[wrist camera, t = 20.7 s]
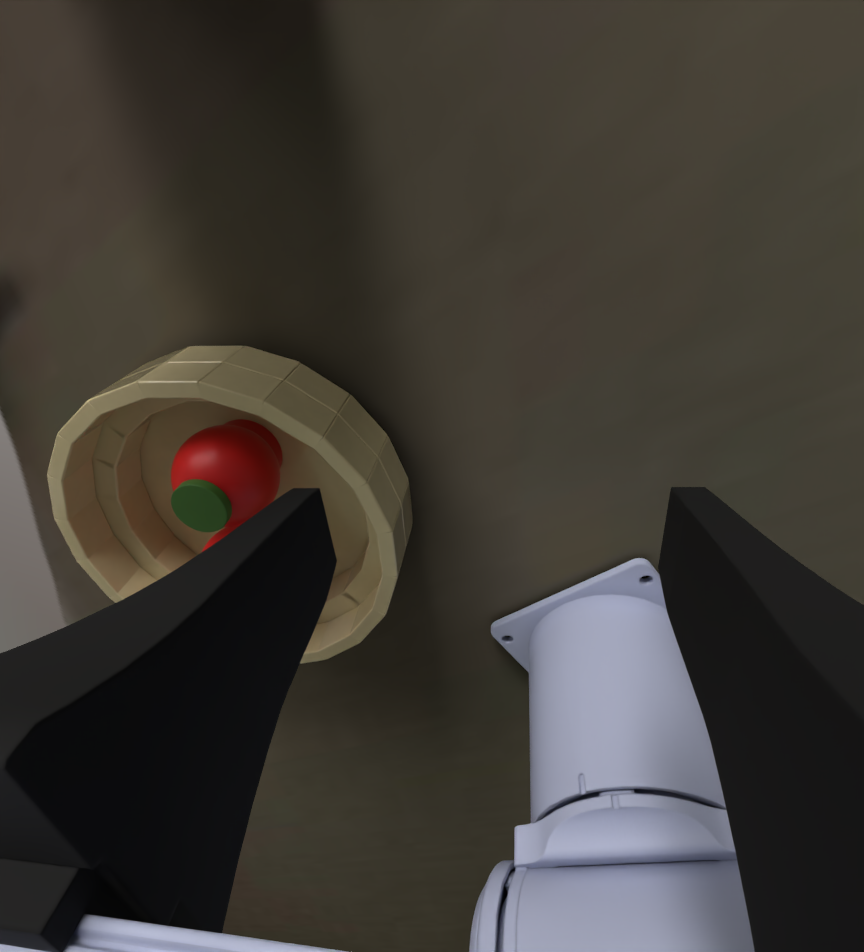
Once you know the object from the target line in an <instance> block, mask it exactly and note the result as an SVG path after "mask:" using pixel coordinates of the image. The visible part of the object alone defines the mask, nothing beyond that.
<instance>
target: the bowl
mask: <svg viewBox="0 0 864 952" xmlns="http://www.w3.org/2000/svg"><path fill="white" fill-rule="evenodd" d="M237 419H245V420H250V421H253V422H256V423H258V424H260V425H262V426H264V427H265V428H267V429H268V430H269V431H270V432H271V433H272V434H273V435H274V436H275V438H276V439H277V441H278V442H279V444H280V447H281V450H282V465H281V467H280V484H279V489H278V492H277V495H276V497H275V499H274V500H276V499H277V498H279V497H280V496H282V495H283V494H285V493H286V492H288V491H289V490H291V489H293V488H320V492H321V496H322V500H323V504H324V508H325V513H326V517H327V521H328V525H329V529H330V534H331V538H332V542H333V546H334V550H335V555H336V559H337V563H336V567H335V571H334V575H333V579H332V583H331V586H330V590H329V593H328V597H327V600H326V603H325V605H324V608H323V610H322V613H321V615H320V617H319V620H318V622H317V625H316V627H315V629H314V632H313V634H312V636H311V639H310V641H309V643H308V646H307V648H306V650H305V652H304V655H303V657H302V659H301V662H300V664H303V663H309V662H316V661H322V660H327V659H329V658H331V657H333V656H335V655H337V654H339V653H341V652H343V651H345V650H347V649H349V648H351V647H353V646H355V645H357V644H359V643H360V642H362V641H363V640H364V638H365V637H366V636H367V635H368V634H369V633H370V632H371V631H372V630H373V629H374V627H375V626H376V625H377V624H378V623H379V622H380V621H381V620H382V619H383V618H384V616H385V615H386V613H387V611H388V608H389V605H390V602H391V598H392V595H393V592H394V589H395V586H396V582H397V579H398V576H399V572H400V568H401V565H402V561H403V558H404V554H405V550H406V547H407V543H408V540H409V536H410V532H411V529H412V525H413V524H412V523H413V518H412V507H411V497H410V486H409V481H408V477H407V475H406V473H405V471H404V468H403V466H402V464H401V462H400V460H399V458H398V456H397V454H396V451H395V449H394V447H393V445H392V443H391V441H390V439H389V437H388V435H387V434H386V432H385V431H384V430H383V429H382V428H381V427H380V426H379V425H378V424H377V422H376V421H375V420H374V419H373V418H372V417H371V416H370V415H369V414H368V413H367V411H366V410H365V409H364V408H363V407H362V406H361V405H360V404H359V403H358V401H357V400H356V399H355V398H354V397H353V396H352V395H350V394H349V393H348V392H346V391H345V390H343V389H342V388H340V387H338V386H337V385H335V384H334V383H332V382H330V381H329V380H327V379H326V378H324V377H323V376H321V375H319V374H318V373H316V372H315V371H313V370H312V369H310V368H308V367H307V366H305V365H304V364H300V362H298V361H295V360H292V359H288V358H285V357H282V356H279V355H275V354H272V353H269V352H265V351H262V350H259V349H255V348H252V347H249V346H191V347H190V346H189V347H186V348H184V349H181V350H178V351H176V352H173V353H171V354H168V355H166V356H163V357H161V358H158V359H156V360H153V361H150V362H148V363H146V364H144V365H143V366H141V367H140V368H138V369H136V370H135V371H133V372H132V373H130V374H129V375H127V376H125V377H124V378H122V379H121V380H119V381H117V382H116V383H114V384H113V385H111V386H109V387H108V388H106V389H105V390H103V391H101V392H100V393H98V394H97V395H95V396H93V397H92V398H90V399H89V400H87V401H86V402H85V403H84V404H83V406H82V407H81V408H80V409H79V410H78V411H77V412H76V413H75V414H74V415H73V416H72V417H71V419H70V420H69V421H68V422H67V423H66V424H65V425H64V426H63V427H62V428H61V429H60V430H59V432H58V434H57V437H56V441H55V445H54V448H53V452H52V456H51V460H50V464H49V468H48V472H47V474H48V475H47V479H48V485H49V491H50V497H51V503H52V509H53V515H54V518H55V521H56V523H57V525H58V527H59V529H60V531H61V533H62V535H63V537H64V539H65V541H66V542H67V544H68V546H69V548H70V550H71V552H72V554H73V556H74V558H75V559H76V560H77V562H78V564H79V565H80V566H81V567H82V568H83V569H84V570H85V571H86V573H87V574H88V575H89V576H90V577H91V578H92V579H93V581H94V582H95V583H96V584H97V585H98V586H99V587H100V588H101V590H102V591H103V592H104V593H105V594H106V595H107V596H108V597H109V598H110V599H111V600H112V601H114V602H115V603H117V602H119V601H121V600H123V599H125V598H127V597H129V596H130V595H132V594H134V593H136V592H138V591H140V590H141V589H143V588H145V587H147V586H148V585H150V584H152V583H154V582H156V581H157V580H159V579H161V578H162V577H164V576H166V575H167V574H169V573H171V572H172V571H174V570H176V569H177V568H179V567H180V566H182V565H183V564H185V563H186V562H188V561H189V560H191V559H192V558H194V557H195V556H197V555H198V554H200V553H201V552H202V550H203V548H204V547H205V545H206V544H207V542H208V541H209V540H210V539H211V538H212V537H213V536H214V535H215V534H216V533H218V532H219V531H220V530H222V529H224V528H226V527H223V528H222V529H220V530H218V531H215V532H201V531H197V530H194V529H192V528H190V527H188V526H187V525H185V524H184V523H183V522H182V521H181V520H180V519H179V518H178V517H177V516H176V514H175V513H174V511H173V509H172V505H171V497H172V494H173V489H172V484H171V468H172V464H173V460H174V458H175V455H176V453H177V452H178V450H179V448H180V447H181V446H182V445H183V443H184V442H185V441H186V440H187V439H188V438H190V437H191V436H192V435H194V434H195V433H197V432H199V431H201V430H203V429H205V428H208V427H212V426H217V425H223V424H225V423H227V422H229V421H232V420H237Z"/></svg>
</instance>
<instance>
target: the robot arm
mask: <svg viewBox="0 0 864 952" xmlns="http://www.w3.org/2000/svg"><path fill="white" fill-rule="evenodd" d="M336 563H337V559H336V555H335V550H334V546H333V542H332V538H331V534H330V529H329V525H328V521H327V517H326V513H325V508H324V504H323V500H322V496H321V492H320V488H293V489H291V490H289V491H288V492H286V493H285V494H283V495H282V496H280V497H279V498H277V499H276V500H274V501H273V502H272V503H270V504H269V505H268V506H266V507H265V508H263V509H262V510H261V511H259V512H258V513H257V514H255V515H254V516H253V517H251V518H250V519H248V520H247V521H246V522H244V523H243V524H242V525H240V526H239V527H237V528H236V529H235V530H233V531H232V532H231V533H229V534H228V535H226V536H225V537H224V538H222V539H221V540H219V541H218V542H216V543H215V544H213V545H212V546H210V547H209V548H207V549H206V550H204V551H203V552H201V553H200V554H198V555H197V556H195V557H194V558H192V559H191V560H189V561H188V562H186V563H185V564H183V565H182V566H180V567H179V568H177V569H176V570H174V571H172V572H171V573H169V574H167V575H166V576H164V577H162V578H161V579H159V580H157V581H156V582H154V583H152V584H150V585H148V586H147V587H145V588H143V589H141V590H140V591H138V592H136V593H134V594H132V595H130V596H129V597H127V598H125V599H123V600H121V601H119V602H117V603H115V604H113V605H111V606H109V607H106V608H104V609H102V610H100V611H98V612H96V613H94V614H92V615H90V616H88V617H86V618H84V619H82V620H80V621H78V622H75V623H73V624H71V625H69V626H67V627H64V628H62V629H60V630H57V631H55V632H53V633H50V634H48V635H46V636H43V637H41V638H39V639H36V640H34V641H31V642H29V643H26V644H24V645H21V646H19V647H16V648H14V649H11V650H8V651H6V652H3V653H0V952H348V951H341V950H334V949H327V948H320V947H313V946H306V945H299V944H292V943H285V942H278V941H271V940H264V939H257V938H250V937H243V936H236V935H229V934H222V930H223V925H224V921H225V916H226V912H227V907H228V903H229V899H230V894H231V890H232V885H233V881H234V877H235V872H236V868H237V863H238V859H239V855H240V851H241V848H242V844H243V840H244V836H245V832H246V828H247V824H248V820H249V816H250V812H251V808H252V805H253V801H254V797H255V794H256V790H257V787H258V783H259V780H260V776H261V773H262V769H263V766H264V762H265V759H266V755H267V752H268V749H269V746H270V743H271V739H272V736H273V733H274V730H275V726H276V723H277V720H278V717H279V714H280V711H281V708H282V705H283V703H284V700H285V697H286V695H287V692H288V690H289V687H290V685H291V683H292V680H293V678H294V676H295V673H296V671H297V669H298V666H299V664H300V662H301V659H302V657H303V655H304V652H305V650H306V648H307V646H308V643H309V641H310V639H311V636H312V634H313V632H314V629H315V627H316V625H317V622H318V620H319V617H320V615H321V613H322V610H323V608H324V605H325V603H326V600H327V597H328V593H329V590H330V586H331V583H332V579H333V575H334V571H335V567H336ZM658 569H659V573H658V572H657V571H656V570H655V568H654V567H653V566H652V564H651V563H650V562H649V561H648V560H646V559H643V558H636V559H632V560H630V561H628V562H626V563H624V564H621V565H619V566H617V567H615V568H612V569H610V570H608V571H606V572H603V573H601V574H599V575H597V576H595V577H592V578H590V579H588V580H586V581H583V582H581V583H579V584H577V585H574V586H572V587H570V588H568V589H566V590H563V591H561V592H559V593H557V594H554V595H552V596H550V597H548V598H545V599H543V600H541V601H539V602H537V603H534V604H532V605H530V606H528V607H525V608H523V609H521V610H519V611H517V612H514V613H512V614H510V615H508V616H505V617H503V618H501V619H499V620H496V621H495V622H493V623H492V625H491V634H492V636H493V637H494V638H495V639H496V640H497V641H498V642H499V643H500V644H501V645H502V646H503V647H504V648H505V649H506V650H507V651H508V652H509V653H510V654H511V655H512V656H513V657H514V658H515V659H516V660H517V661H518V662H519V663H520V665H521V666H522V667H523V668H524V669H525V670H526V671H527V672H528V673H529V720H530V800H531V823H530V824H525V825H518V826H516V827H515V847H514V860H506V861H501V862H499V863H498V864H497V865H496V866H495V867H494V869H493V870H492V872H491V874H490V875H489V878H488V880H487V883H486V885H485V886H484V888H483V889H482V891H481V893H480V896H479V898H478V901H477V904H476V908H475V912H474V917H473V922H472V929H471V937H470V948H469V952H864V605H862V604H861V603H859V602H857V601H856V600H854V599H852V598H851V597H849V596H848V595H846V594H845V593H843V592H842V591H840V590H839V589H837V588H836V587H834V586H833V585H831V584H830V583H828V582H827V581H825V580H824V579H823V578H821V577H820V576H818V575H817V574H815V573H814V572H812V571H811V570H810V569H808V568H807V567H805V566H804V565H803V564H801V563H800V562H798V561H797V560H796V559H794V558H793V557H792V556H790V555H789V554H788V553H786V552H785V551H784V550H782V549H781V548H780V547H778V546H777V545H776V544H775V543H773V542H772V541H771V540H769V539H768V538H767V537H766V536H764V535H763V534H762V533H761V532H759V531H758V530H757V529H756V528H754V527H753V526H752V525H751V524H749V523H748V522H747V521H746V520H745V519H743V518H742V517H741V516H740V515H738V514H737V513H736V512H735V511H734V510H732V509H731V508H730V507H729V506H728V505H726V504H725V503H724V502H723V501H722V500H720V499H719V498H718V497H717V496H715V495H714V494H713V493H712V492H710V491H709V490H708V489H706V488H705V487H671V491H670V497H669V504H668V510H667V516H666V522H665V529H664V535H663V541H662V547H661V553H660V560H659V566H658ZM659 574H660V575H659ZM643 576H650V577H648V578H645V579H643V578H641V577H643ZM505 636H511V637H505Z"/></svg>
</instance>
